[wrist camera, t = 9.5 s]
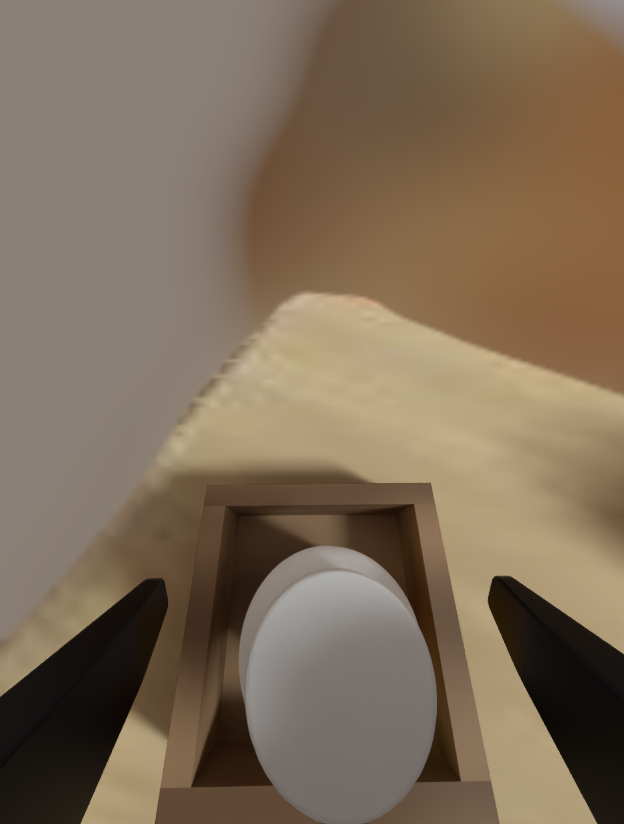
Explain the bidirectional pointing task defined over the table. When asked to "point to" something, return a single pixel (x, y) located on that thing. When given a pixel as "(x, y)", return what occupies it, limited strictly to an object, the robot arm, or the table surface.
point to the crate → (221, 631)
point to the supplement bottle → (337, 685)
